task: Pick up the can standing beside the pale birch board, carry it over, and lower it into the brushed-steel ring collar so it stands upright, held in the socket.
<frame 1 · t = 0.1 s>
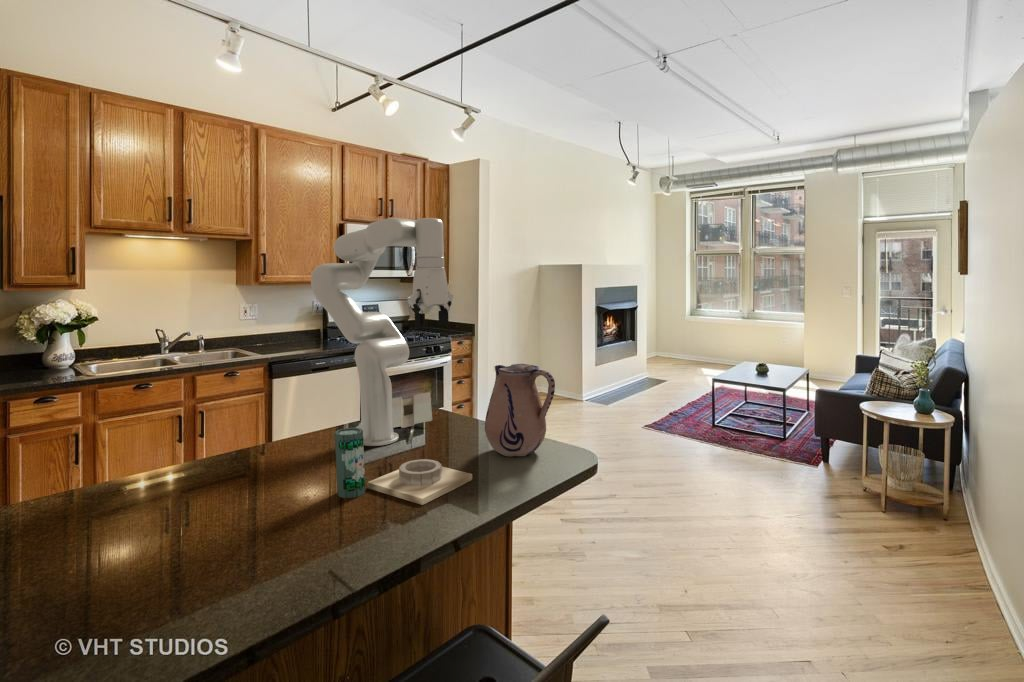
hand: (432, 326, 154), 37 cm above the counter, tool pointing down, fingers open, 9 cm apart
ceramic pitcher: (521, 453, 159), on the counter
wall: (409, 423, 192), on the counter
can: (351, 493, 131), on the counter
socket board: (420, 483, 136), on the counter
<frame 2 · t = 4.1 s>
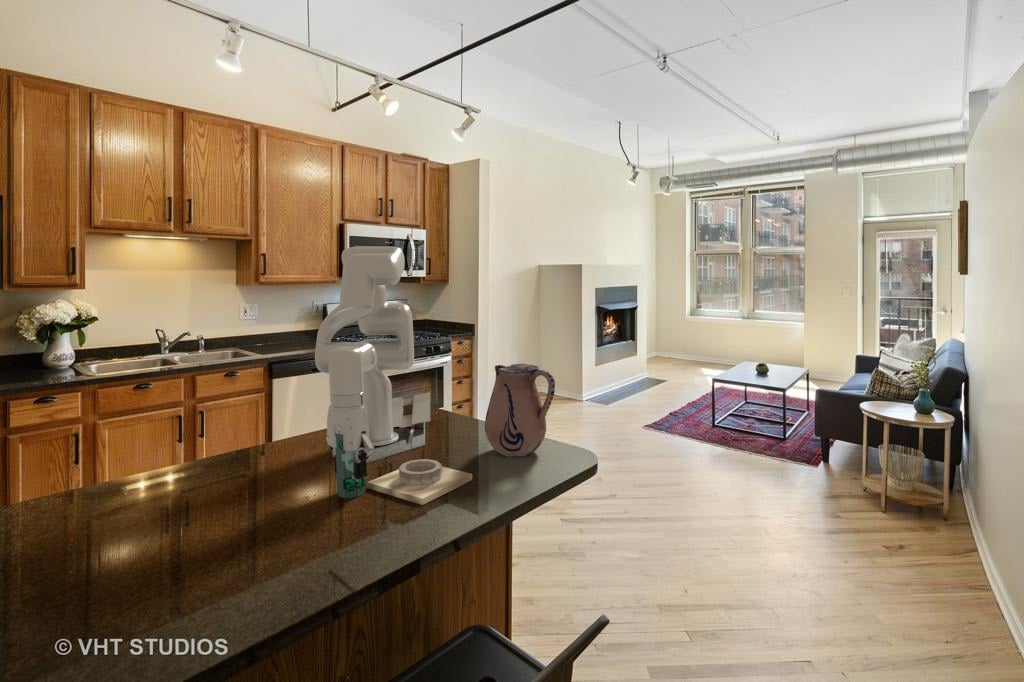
hand: (350, 473, 131), 5 cm above the counter, tool pointing down, fingers closed on can, 6 cm apart
can: (351, 493, 131), on the counter, touching gripper
everything else where it was.
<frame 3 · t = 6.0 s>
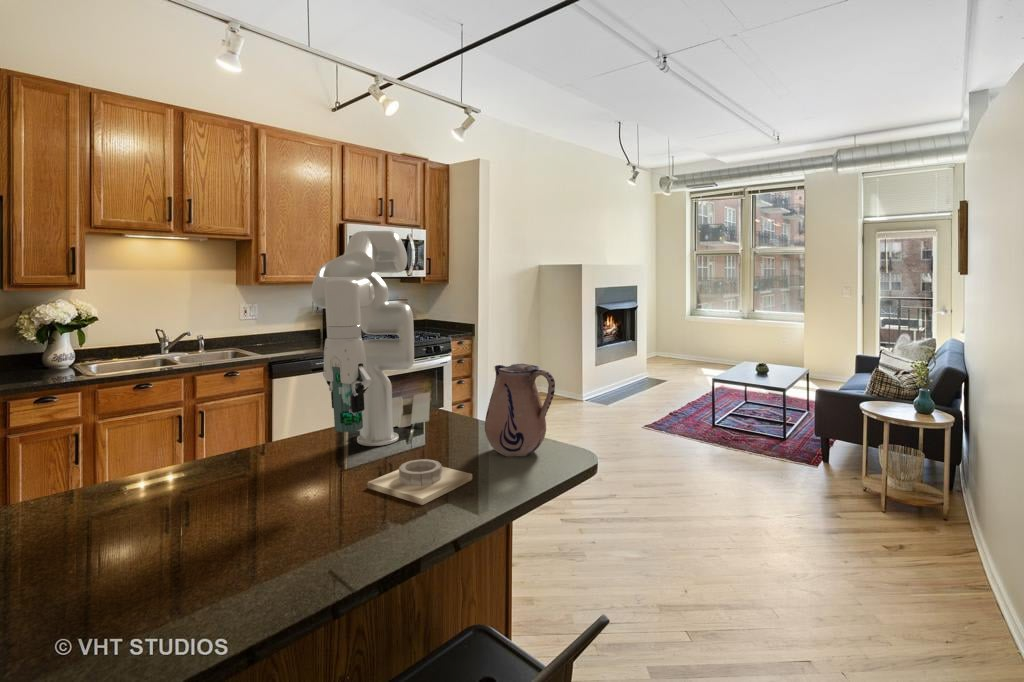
hand: (348, 408, 129), 20 cm above the counter, tool pointing down, fingers closed on can, 6 cm apart
can: (349, 428, 130), point 15 cm above the counter, touching gripper
everything else where it was.
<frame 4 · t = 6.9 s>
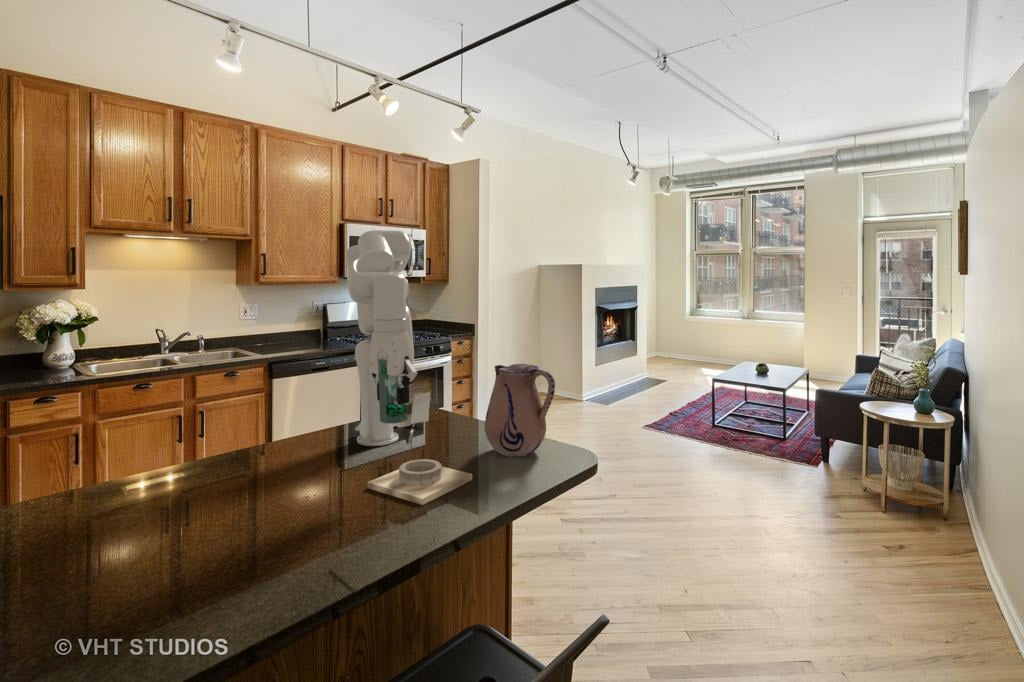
hand: (393, 400, 132), 21 cm above the counter, tool pointing down, fingers closed on can, 6 cm apart
can: (393, 420, 133), point 17 cm above the counter, touching gripper
everything else where it was.
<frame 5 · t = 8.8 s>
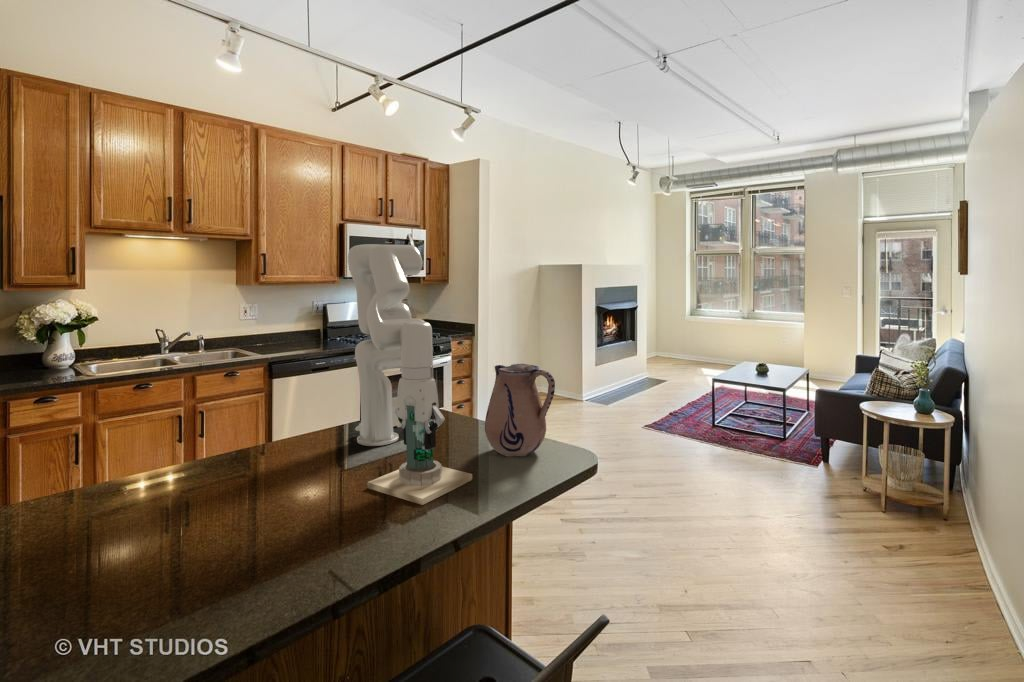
hand: (419, 445, 135), 10 cm above the counter, tool pointing down, fingers closed on can, 6 cm apart
can: (420, 464, 136), point 5 cm above the counter, touching gripper
everything else where it was.
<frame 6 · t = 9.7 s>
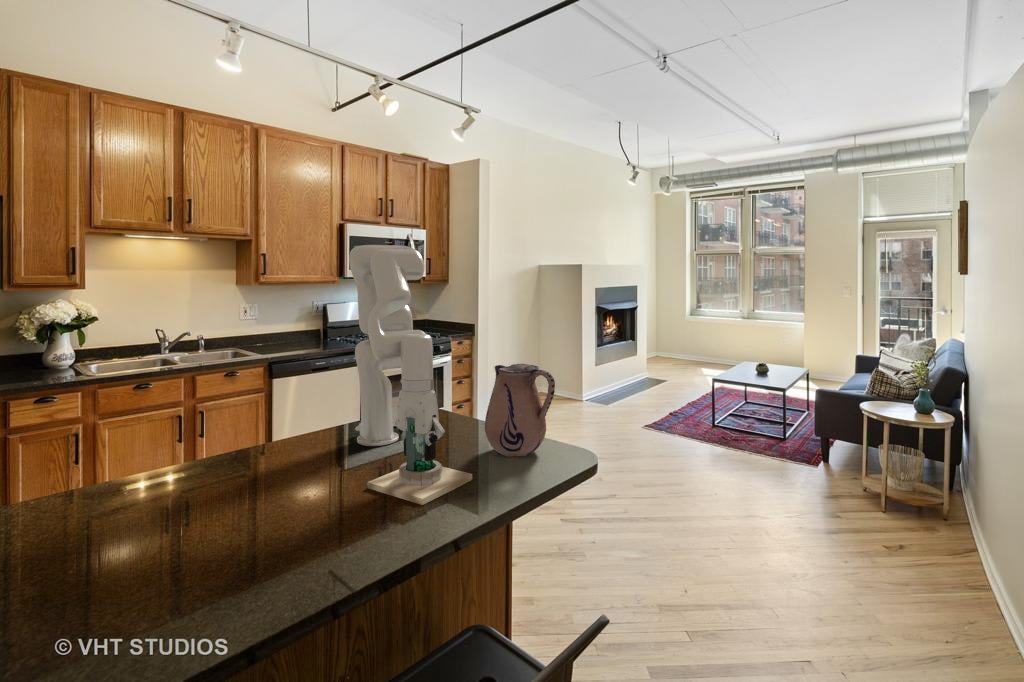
hand: (419, 456, 136), 7 cm above the counter, tool pointing down, fingers closed on can, 6 cm apart
can: (420, 475, 136), point 2 cm above the counter, touching gripper
everything else where it was.
when the fingers open (7 cm above the counter, at t = 9.8 s): can stays where it is, resting on socket board.
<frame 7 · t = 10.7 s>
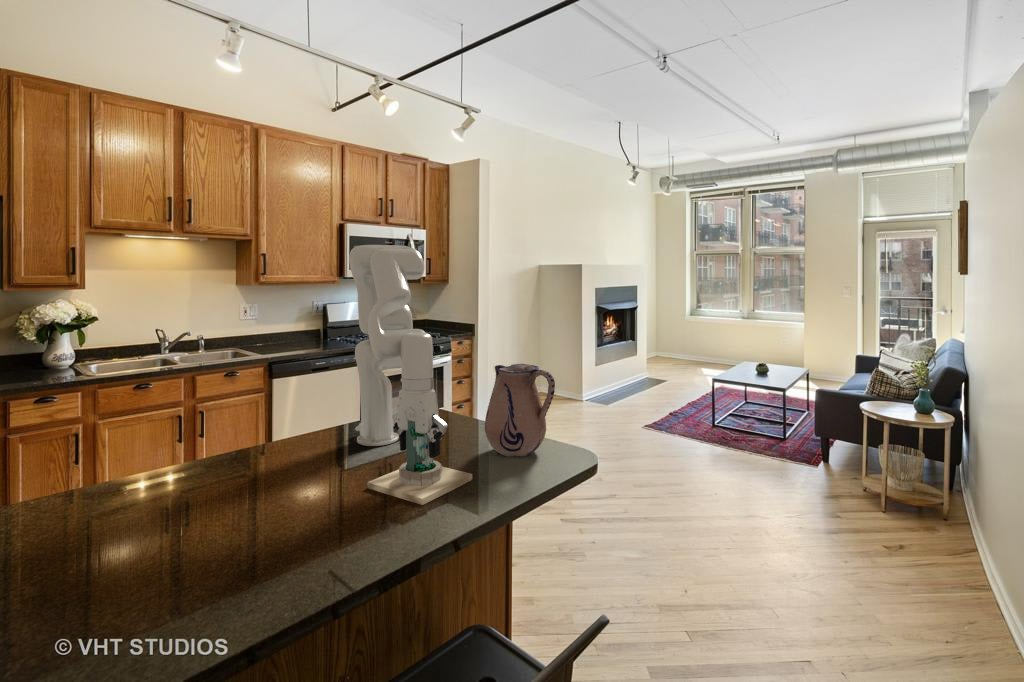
hand: (419, 452, 136), 8 cm above the counter, tool pointing down, fingers open, 9 cm apart
can: (420, 478, 136), point 1 cm above the counter, touching socket board
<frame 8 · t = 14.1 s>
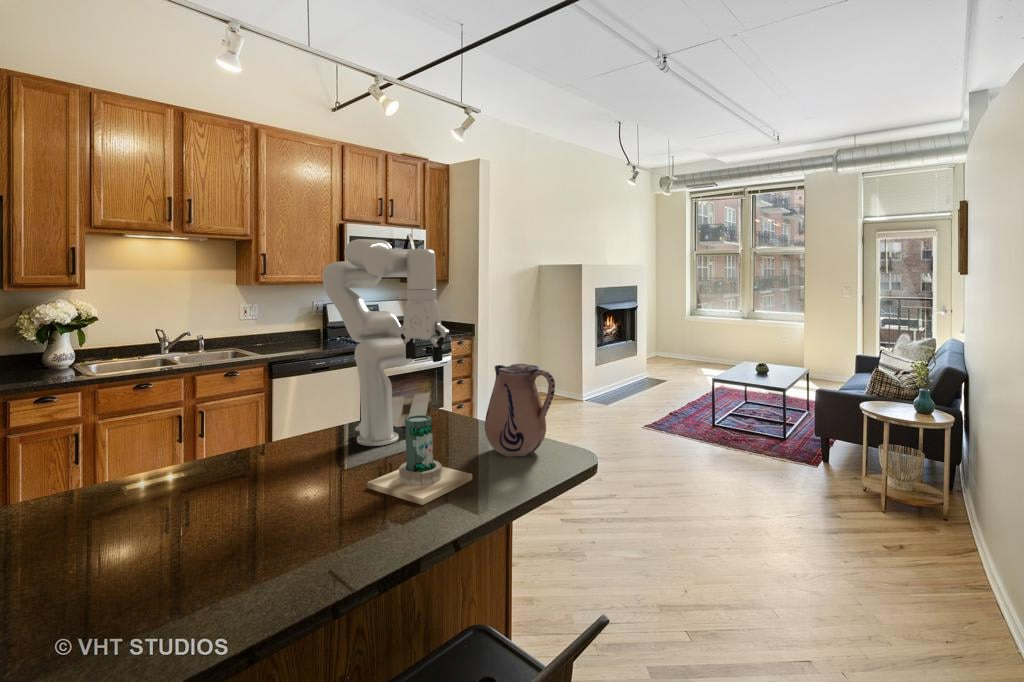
hand: (424, 359, 149), 28 cm above the counter, tool pointing down, fingers open, 9 cm apart
at the end: can 0.2 cm from the socket board (horizontally); can point 1.3 cm above the counter; can tilted 0° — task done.
